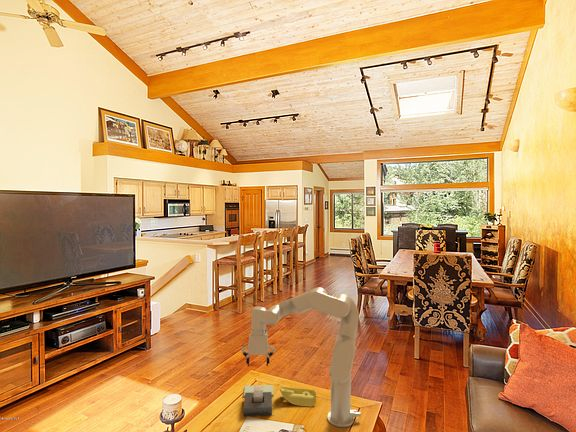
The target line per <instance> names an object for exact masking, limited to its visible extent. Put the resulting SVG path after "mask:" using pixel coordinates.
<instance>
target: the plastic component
mask: <svg viewBox="0 0 576 432" xmlns="http://www.w3.org/2000/svg"><path fill="white" fill-rule="evenodd" d="M278 389H279V392H280V394H281V395H282V397H283V400H286V401H287V402H288V403H290V404H292V405H295V406H301V407H308V408H309V407H311V408H312V407H314V406H315V404H316V403H317V402H316V401H317V390H315V389H307V388H306V389H305V388H296V387H286V386H278Z"/></svg>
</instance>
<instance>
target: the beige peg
mask: <svg viewBox="0 0 576 432" xmlns="http://www.w3.org/2000/svg"><path fill="white" fill-rule="evenodd" d="M253 403H263V386H254V401H253Z"/></svg>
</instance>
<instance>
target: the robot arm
mask: <svg viewBox="0 0 576 432" xmlns="http://www.w3.org/2000/svg"><path fill="white" fill-rule="evenodd" d="M312 309H314V310H316V311H317V312H321V313H324V314H326V315H329V316H331V317H335V318H339V319H340V321H339V326H338V331H337V335H336V339H335V342H334V344H333V345H334V346H333V349H332V355H331V360H330V366H329V371H328V372H329V376H330V411H329V412H328V413H327V416H326V417H327V421H328V422H329V423H330V424H331V425H332V426H335V427H336V428H337V427H338V428H347V427H350V426H352V425H353V424H354V421H355V419H354V418H355V417H357V418H359V417H360V418H361V412H360V411H357V409H351V408H352V407H351V406H352V405H351V404H352V402H351V398H352V397H351V396H352V394H351V393H352V369H353V364H354V359H355V353H356V339H357V332H358V327H359V321H360V320H359V319H360V318H359V316H360V313H359V309H358V307H357V304H356V302H355V301H354V299H353V298H351V296H349V295H348V294H345V293H339V294H338V295H336V296H335V297H334V296H332V295H328V291H327V290H326V289H325V288H323V287H319V286H318V287H314V288H312V289H310V290H307V291H305V292H303V293H300V294H299V295H296V296H294V297H290V298H289V299H285V300H282V301H281V302H279V303H275V304H274V305H273V306H271V307H270V308H268V309H266V307H264V306H262V305H261V306H260V305H259V306H258V305H257V306H254V307H252V309H251V323H250V324H251V327H250V329H251V330H250V333H249V336H248V344H247V345H245V346H243V347H241V348H240V350H241V352H242V356H244V357H245V359H246V362H245V363H246V364H247V367H249V366H250V356H253V355H255V356H257V355H258V356H259V355H260V356H261V355H262V356H266V367H269V364H270V358H271V357H272V356H273V355H274V353H275V351H276V348H275V347H273V346H271V345H269V336H268V333H269V331H270V330H269V328H267V325H269V326H275V325H277V324H279V323H278V322H279V321H280V320H281V319H282V318H284V317H287V316H289V315H291V314H295V313H296V314H304V313H306V312H307V311H310V310H312ZM246 350H247V352H246ZM269 350H271V351H270V352H269Z"/></svg>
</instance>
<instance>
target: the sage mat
mask: <svg viewBox="0 0 576 432" xmlns="http://www.w3.org/2000/svg"><path fill="white" fill-rule="evenodd" d="M254 386H263V392H272V397H274V385H273V384H269V385H268V384H264V385H263V384H259V385H244V389H243V398H245V393H252V392H254Z"/></svg>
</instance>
